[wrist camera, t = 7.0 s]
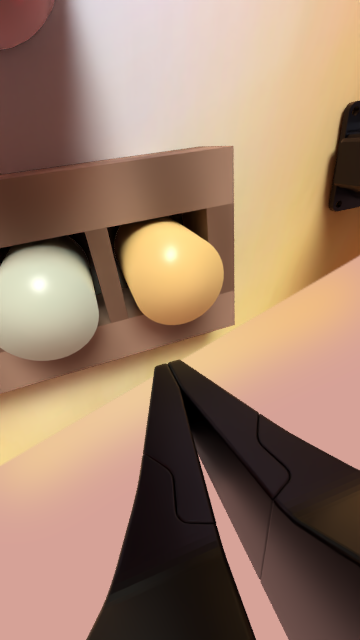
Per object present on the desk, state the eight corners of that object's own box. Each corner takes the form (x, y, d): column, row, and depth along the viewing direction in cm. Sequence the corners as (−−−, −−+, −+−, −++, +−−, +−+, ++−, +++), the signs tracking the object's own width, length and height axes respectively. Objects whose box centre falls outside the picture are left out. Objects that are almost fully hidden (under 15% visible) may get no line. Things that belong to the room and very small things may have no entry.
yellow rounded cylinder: (178, 204, 17) (222, 225, 12) (185, 271, 20) (224, 312, 15) (105, 217, 16) (122, 246, 12) (122, 286, 19) (142, 335, 14)
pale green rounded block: (77, 223, 16) (82, 255, 11) (97, 292, 18) (109, 344, 14) (-8, 238, 15) (-44, 281, 10) (25, 310, 17) (9, 372, 13)
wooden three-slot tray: (200, 146, 17) (233, 146, 13) (209, 298, 22) (234, 324, 19) (-236, 208, 12) (-345, 229, 9) (-91, 378, 18) (-127, 431, 14)
